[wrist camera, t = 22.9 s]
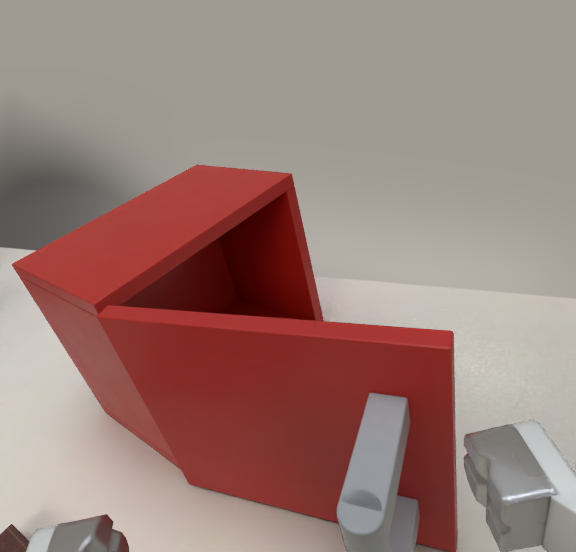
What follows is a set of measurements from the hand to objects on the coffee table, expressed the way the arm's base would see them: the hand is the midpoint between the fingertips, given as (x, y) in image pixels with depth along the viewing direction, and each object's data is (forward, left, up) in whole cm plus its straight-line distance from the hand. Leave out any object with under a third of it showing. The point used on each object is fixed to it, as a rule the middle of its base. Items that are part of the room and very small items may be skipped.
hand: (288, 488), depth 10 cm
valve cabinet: (-12, -22, -17) cm, 31 cm away
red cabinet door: (-3, -7, -17) cm, 19 cm away
